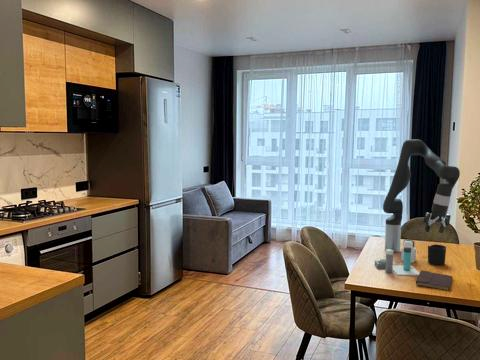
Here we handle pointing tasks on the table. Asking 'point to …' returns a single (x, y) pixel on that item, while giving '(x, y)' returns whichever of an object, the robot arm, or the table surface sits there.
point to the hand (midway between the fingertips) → (433, 232)
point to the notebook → (434, 280)
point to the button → (382, 260)
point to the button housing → (380, 265)
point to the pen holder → (436, 254)
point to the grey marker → (389, 261)
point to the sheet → (399, 271)
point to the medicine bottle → (413, 250)
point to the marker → (407, 259)
